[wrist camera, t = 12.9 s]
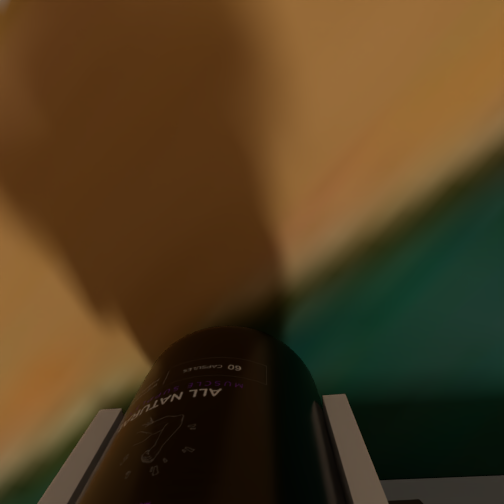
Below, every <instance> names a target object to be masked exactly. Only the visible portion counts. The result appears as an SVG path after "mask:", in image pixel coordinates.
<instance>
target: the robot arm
mask: <svg viewBox="0 0 504 504" xmlns="http://www.w3.org/2000/svg"><path fill="white" fill-rule="evenodd" d="M322 398H323V413H324V417H325V421H326V425H327V429H328V433H329V437H330V441H331V445H332V449H333V453H334V457H335V461H336V465H337V469H338V473H339V477H340V481H341V485H342V489H343V492H344V496H345V500H346V504H423V502H422V501H421V500H420V499H412V500H393V501H387V498H386V496H385V493H384V491H383V488H382V486H381V483H380V481H379V478H378V476H377V473H376V471H375V468H374V466H373V463H372V460H371V458H370V455H369V453H368V450H367V448H366V445H365V443H364V440H363V438H362V435H361V433H360V430H359V428H358V425H357V423H356V420H355V418H354V415H353V412H352V410H351V407H350V405H349V402H348V400H347V397H346V395H345V394H337V395H322ZM122 418H123V412H122V408H119V409H104V410H99V412H98V413H97V415H96V416H95V418H94V419H93V421H92V422H91V424H90V426H89V427H88V429H87V430H86V432H85V433H84V435H83V436H82V438H81V439H80V441H79V442H78V444H77V445H76V447H75V448H74V450H73V451H72V453H71V454H70V456H69V457H68V459H67V460H66V462H65V463H64V465H63V466H62V468H61V469H60V471H59V472H58V474H57V475H56V477H55V478H54V480H53V481H52V483H51V484H50V486H49V487H48V489H47V490H46V492H45V493H44V495H43V496H42V498H41V499H40V501H39V502H38V504H75V502H76V500H77V498H78V497H79V495H80V493H81V491H82V490H83V488H84V486H85V484H86V482H87V481H88V479H89V477H90V475H91V474H92V472H93V470H94V468H95V466H96V465H97V463H98V461H99V459H100V458H101V456H102V454H103V452H104V450H105V449H106V447H107V445H108V443H109V442H110V440H111V438H112V436H113V434H114V433H115V431H116V429H117V427H118V426H119V424H120V422H121V420H122Z"/></svg>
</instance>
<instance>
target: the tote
mask: <svg viewBox="0 0 504 504" xmlns="http://www.w3.org/2000/svg"><path fill="white" fill-rule="evenodd" d="M379 481H380V483H381V486H382V488H383V491H384V493H385V496H386V498H387V501H393V500H412V499H420V500H421V501H422V502H423V504H504V475H500V476H475V477H450V478H425V479H400V480H379Z"/></svg>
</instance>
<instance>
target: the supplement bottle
mask: <svg viewBox="0 0 504 504" xmlns="http://www.w3.org/2000/svg"><path fill="white" fill-rule="evenodd" d="M75 504H346V500H345V496H344V492H343V489H342V485H341V481H340V477H339V473H338V469H337V465H336V461H335V457H334V453H333V449H332V445H331V441H330V437H329V433H328V429H327V425H326V421H325V417H324V413H323V409H322V405H321V402H320V398H319V395H318V391H317V388H316V385H315V382H314V380H313V378H312V376H311V374H310V372H309V370H308V368H307V367H306V365H305V364H304V362H303V361H302V360H301V359H300V358H299V356H298V355H297V354H296V353H295V352H294V351H293V350H292V349H290V348H289V347H288V346H287V345H286V344H284V343H283V342H281V341H280V340H278V339H276V338H275V337H273V336H271V335H269V334H266V333H264V332H261V331H258V330H255V329H251V328H246V327H240V326H218V327H211V328H206V329H202V330H199V331H196V332H194V333H191V334H189V335H187V336H185V337H183V338H182V339H180V340H178V341H177V342H175V343H174V344H172V345H171V346H170V347H169V348H168V349H167V350H165V352H164V353H163V354H162V355H161V356H160V357H159V358H158V360H157V361H156V362H155V364H154V365H153V366H152V368H151V370H150V371H149V373H148V375H147V377H146V378H145V380H144V381H143V383H142V385H141V386H140V388H139V390H138V392H137V394H136V395H135V397H134V399H133V401H132V402H131V404H130V406H129V408H128V410H127V411H126V413H125V415H124V417H123V418H122V420H121V422H120V424H119V426H118V427H117V429H116V431H115V433H114V434H113V436H112V438H111V440H110V442H109V443H108V445H107V447H106V449H105V450H104V452H103V454H102V456H101V458H100V459H99V461H98V463H97V465H96V466H95V468H94V470H93V472H92V474H91V475H90V477H89V479H88V481H87V482H86V484H85V486H84V488H83V490H82V491H81V493H80V495H79V497H78V498H77V500H76V502H75Z"/></svg>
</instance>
